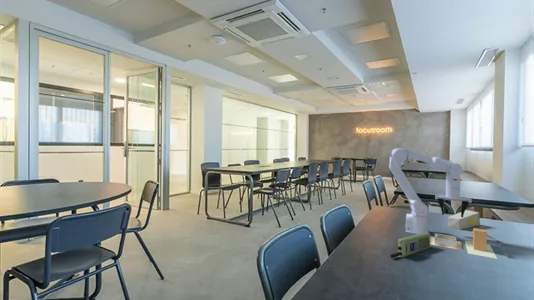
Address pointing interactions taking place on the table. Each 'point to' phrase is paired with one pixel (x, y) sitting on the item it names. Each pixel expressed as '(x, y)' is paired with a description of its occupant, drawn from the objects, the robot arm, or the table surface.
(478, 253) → the mat
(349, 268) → the table surface
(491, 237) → the adjustable wrench
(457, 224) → the block
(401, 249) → the handheld radio
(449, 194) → the robot arm
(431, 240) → the base plate
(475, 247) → the plug
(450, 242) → the grey square ring
